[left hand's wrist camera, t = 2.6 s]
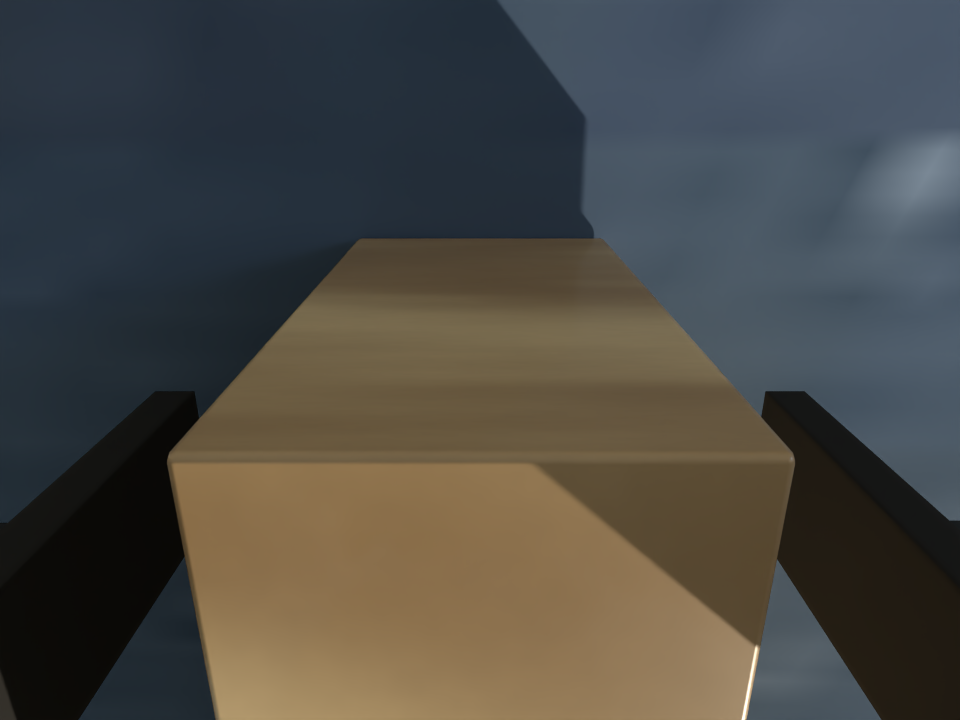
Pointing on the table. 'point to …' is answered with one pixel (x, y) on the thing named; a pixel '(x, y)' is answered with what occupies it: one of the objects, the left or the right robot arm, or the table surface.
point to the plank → (480, 499)
